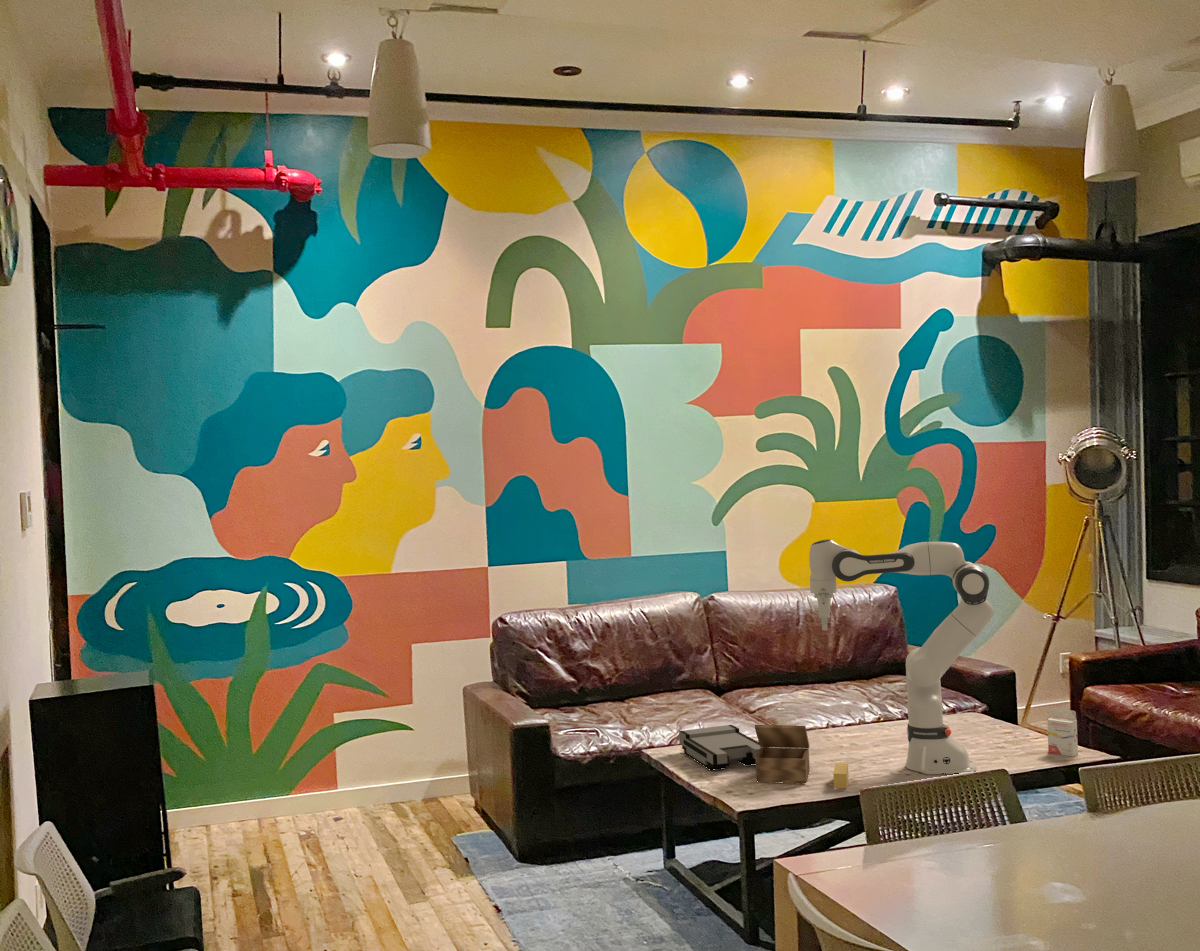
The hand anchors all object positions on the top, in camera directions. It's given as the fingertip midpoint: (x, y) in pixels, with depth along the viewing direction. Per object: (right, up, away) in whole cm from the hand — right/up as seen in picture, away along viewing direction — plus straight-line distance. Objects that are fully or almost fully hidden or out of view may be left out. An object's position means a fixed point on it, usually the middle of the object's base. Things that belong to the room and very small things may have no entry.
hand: (824, 628), depth 377 cm
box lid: (-16, -35, -10) cm, 40 cm away
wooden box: (-16, -48, -11) cm, 52 cm away
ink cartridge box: (+82, -43, +2) cm, 93 cm away
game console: (-33, -49, +14) cm, 60 cm away
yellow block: (+1, -47, -21) cm, 52 cm away
